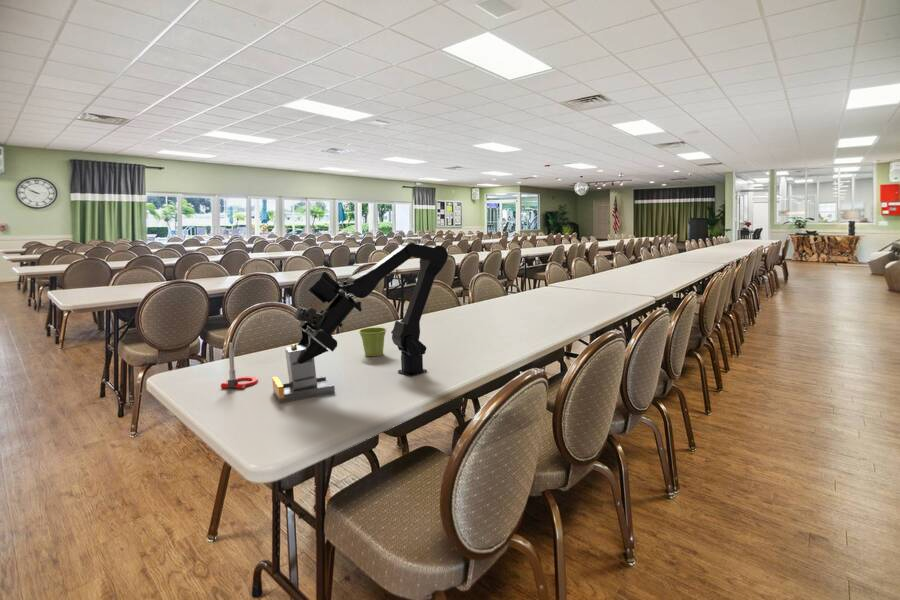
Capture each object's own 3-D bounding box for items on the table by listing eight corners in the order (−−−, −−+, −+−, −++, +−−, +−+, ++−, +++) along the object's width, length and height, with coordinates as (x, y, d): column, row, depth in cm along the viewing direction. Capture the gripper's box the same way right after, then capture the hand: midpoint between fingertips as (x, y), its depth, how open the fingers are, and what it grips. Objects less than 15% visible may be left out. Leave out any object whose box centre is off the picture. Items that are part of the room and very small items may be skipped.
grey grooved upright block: (312, 382, 129) (307, 340, 127) (317, 388, 124) (312, 344, 122) (289, 387, 126) (284, 344, 124) (294, 393, 121) (288, 348, 119)
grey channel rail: (325, 382, 133) (324, 368, 132) (334, 392, 125) (333, 377, 124) (273, 392, 126) (272, 377, 125) (279, 403, 118) (278, 387, 117)
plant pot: (355, 354, 162) (353, 330, 161) (377, 349, 169) (376, 325, 167) (369, 359, 156) (368, 334, 154) (393, 354, 162) (392, 329, 160)
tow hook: (237, 379, 139) (217, 389, 130) (235, 336, 138) (214, 343, 128) (263, 380, 138) (245, 390, 128) (261, 337, 136) (243, 343, 127)
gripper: (304, 291, 131) (266, 335, 128) (321, 299, 115) (278, 349, 111) (334, 315, 136) (297, 358, 133) (354, 326, 120) (313, 375, 116)
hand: (296, 359), depth 123 cm, fingers open, 6 cm apart
